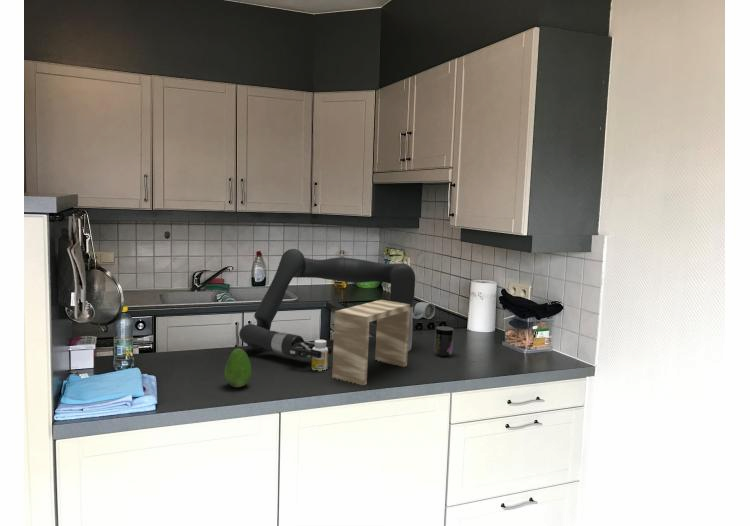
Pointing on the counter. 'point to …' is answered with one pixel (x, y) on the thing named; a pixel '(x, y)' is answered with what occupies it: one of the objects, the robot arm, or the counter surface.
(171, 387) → the counter surface
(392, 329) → the low shelf
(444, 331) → the supplement container
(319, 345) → the supplement bottle
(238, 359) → the avocado
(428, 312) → the ceramic mug
